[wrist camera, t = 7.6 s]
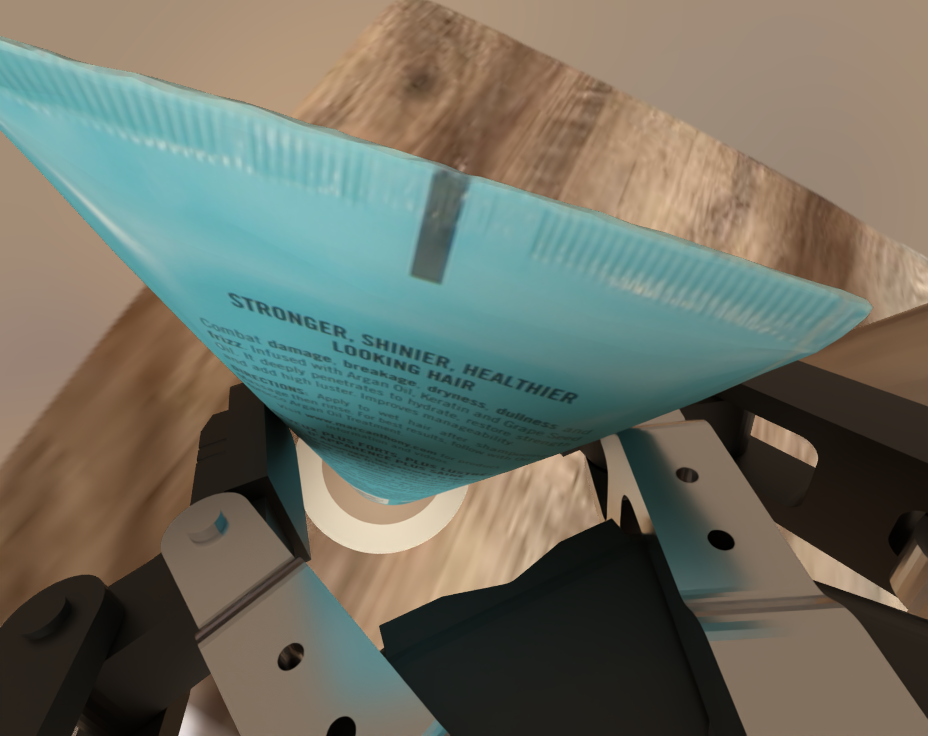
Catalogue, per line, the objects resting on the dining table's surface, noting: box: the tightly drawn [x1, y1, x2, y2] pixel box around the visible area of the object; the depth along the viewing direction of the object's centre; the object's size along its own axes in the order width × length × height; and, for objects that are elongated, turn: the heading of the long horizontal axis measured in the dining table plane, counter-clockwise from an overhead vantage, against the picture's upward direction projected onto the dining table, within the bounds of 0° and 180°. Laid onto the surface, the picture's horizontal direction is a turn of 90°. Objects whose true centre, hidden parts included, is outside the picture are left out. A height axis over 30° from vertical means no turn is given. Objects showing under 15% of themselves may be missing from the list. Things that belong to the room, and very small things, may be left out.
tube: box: [0, 36, 873, 505], centre depth 13 cm, size 7×5×19 cm, turn 82°
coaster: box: [296, 438, 469, 554], centre depth 33 cm, size 12×12×1 cm
